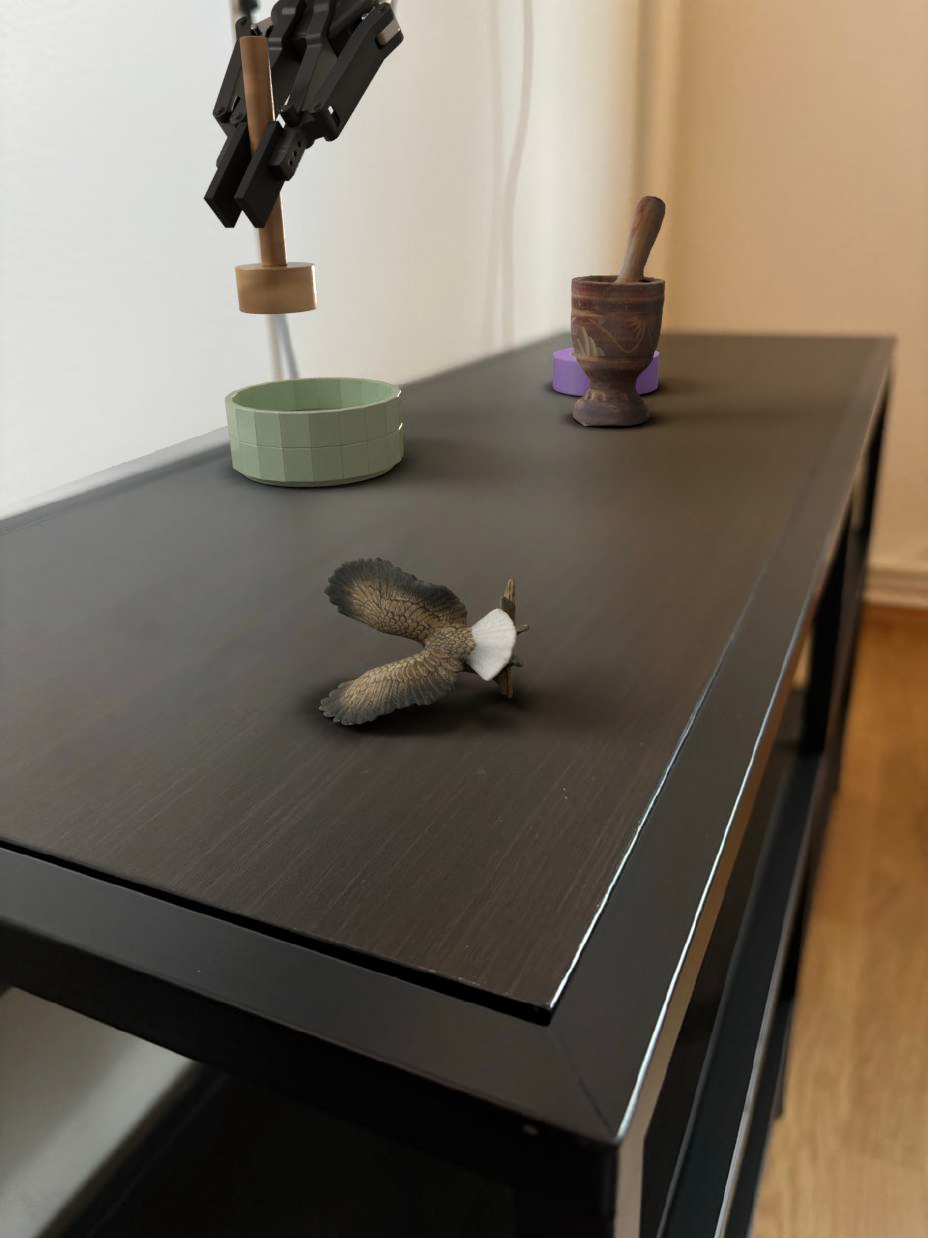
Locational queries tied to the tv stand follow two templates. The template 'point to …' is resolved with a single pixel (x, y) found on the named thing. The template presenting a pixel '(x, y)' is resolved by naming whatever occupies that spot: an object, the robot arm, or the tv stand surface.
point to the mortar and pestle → (619, 327)
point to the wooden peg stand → (275, 278)
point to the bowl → (315, 430)
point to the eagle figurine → (427, 619)
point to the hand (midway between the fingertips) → (234, 212)
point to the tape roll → (577, 382)
